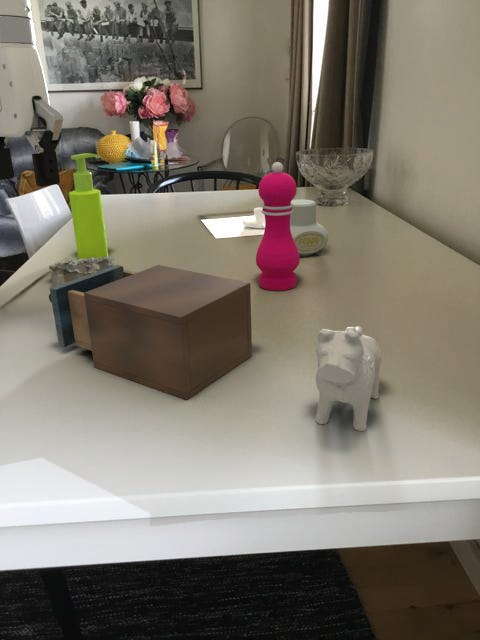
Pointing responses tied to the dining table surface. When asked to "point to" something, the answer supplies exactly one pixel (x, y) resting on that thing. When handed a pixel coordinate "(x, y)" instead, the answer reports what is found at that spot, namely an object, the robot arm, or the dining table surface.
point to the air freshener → (306, 228)
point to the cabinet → (170, 328)
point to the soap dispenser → (87, 213)
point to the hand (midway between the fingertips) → (25, 182)
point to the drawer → (79, 305)
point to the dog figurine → (347, 372)
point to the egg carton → (78, 268)
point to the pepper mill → (277, 232)
